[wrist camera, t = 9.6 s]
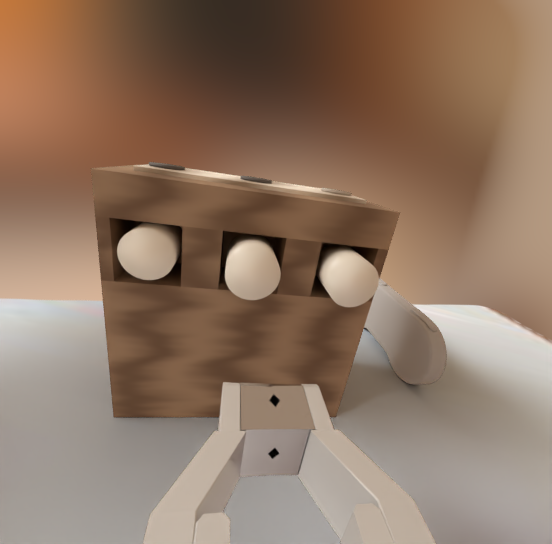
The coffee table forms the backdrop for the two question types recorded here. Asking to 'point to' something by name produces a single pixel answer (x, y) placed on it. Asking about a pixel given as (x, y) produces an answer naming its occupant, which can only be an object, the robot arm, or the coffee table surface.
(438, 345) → the game controller
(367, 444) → the coffee table surface
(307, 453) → the robot arm
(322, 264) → the button
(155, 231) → the button
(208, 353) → the console
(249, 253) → the button middle
